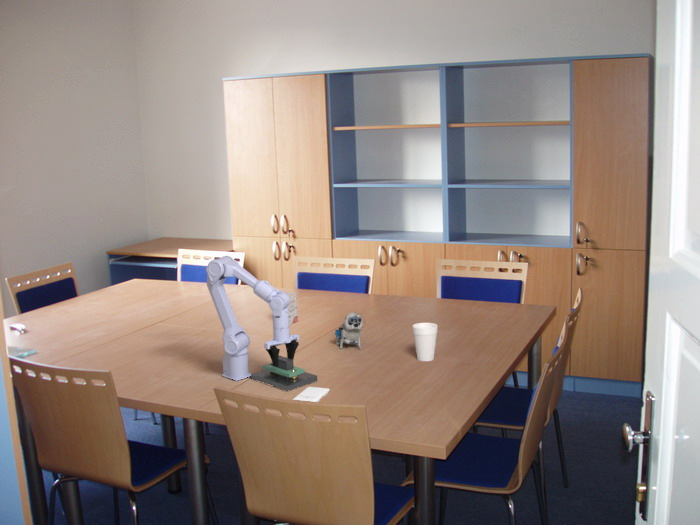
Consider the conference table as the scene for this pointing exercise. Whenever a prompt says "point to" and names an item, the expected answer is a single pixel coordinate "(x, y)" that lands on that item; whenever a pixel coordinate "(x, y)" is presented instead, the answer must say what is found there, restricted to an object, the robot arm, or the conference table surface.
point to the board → (283, 372)
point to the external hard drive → (312, 394)
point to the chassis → (284, 379)
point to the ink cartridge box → (293, 308)
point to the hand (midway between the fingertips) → (283, 363)
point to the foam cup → (425, 340)
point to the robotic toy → (350, 330)
